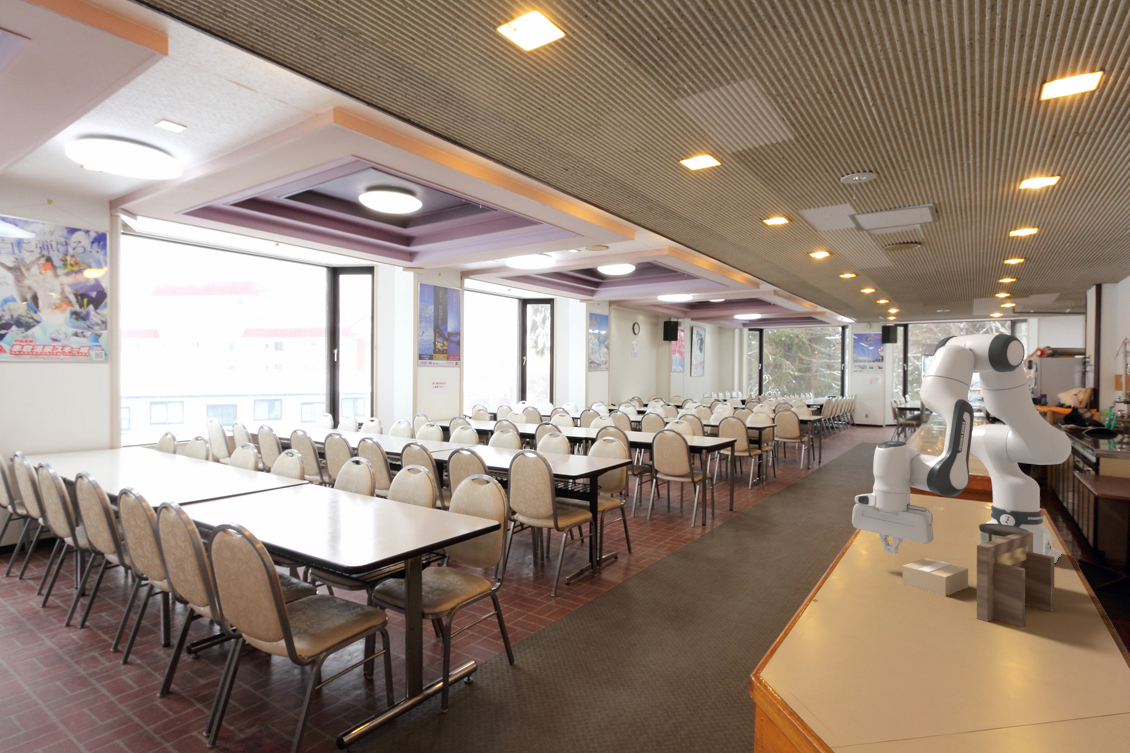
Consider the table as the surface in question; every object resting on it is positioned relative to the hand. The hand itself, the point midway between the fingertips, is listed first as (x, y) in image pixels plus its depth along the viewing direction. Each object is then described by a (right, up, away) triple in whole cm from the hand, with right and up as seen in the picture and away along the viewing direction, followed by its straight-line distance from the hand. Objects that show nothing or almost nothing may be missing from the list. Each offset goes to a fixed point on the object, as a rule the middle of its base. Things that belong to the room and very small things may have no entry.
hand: (890, 552), depth 154 cm
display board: (+14, -6, -26) cm, 30 cm away
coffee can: (+26, -6, -6) cm, 27 cm away
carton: (+6, -6, -9) cm, 13 cm away
